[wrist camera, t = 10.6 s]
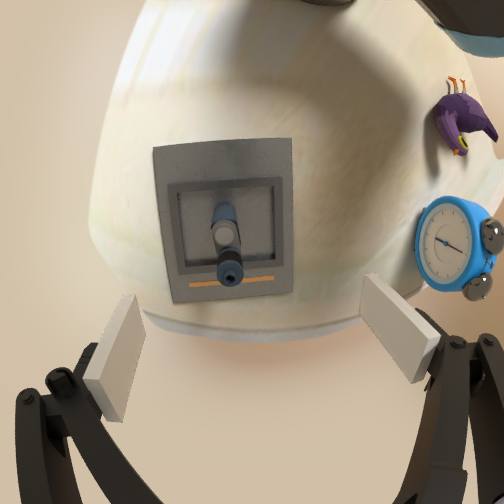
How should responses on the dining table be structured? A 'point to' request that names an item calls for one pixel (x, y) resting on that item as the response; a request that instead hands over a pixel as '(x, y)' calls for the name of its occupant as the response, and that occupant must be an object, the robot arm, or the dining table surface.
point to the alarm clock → (458, 247)
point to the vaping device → (227, 246)
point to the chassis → (245, 204)
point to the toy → (461, 119)
